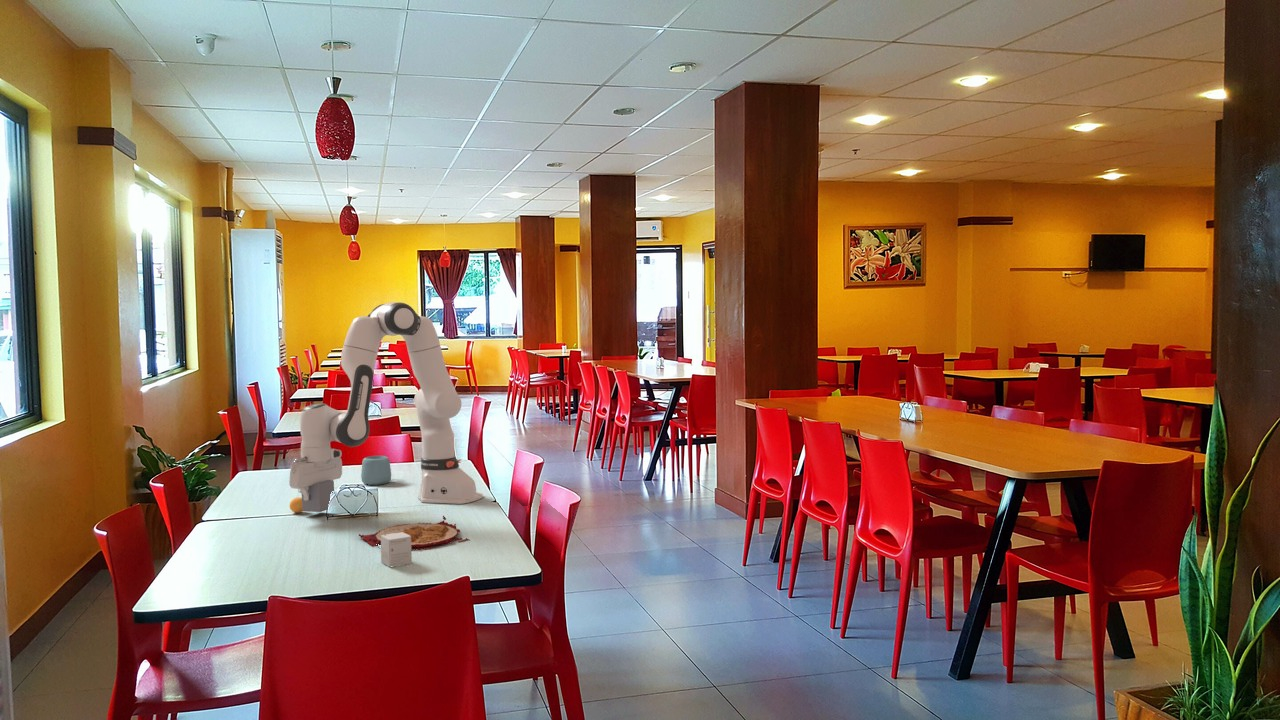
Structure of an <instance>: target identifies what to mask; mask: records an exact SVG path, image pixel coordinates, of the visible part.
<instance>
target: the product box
mask: <svg viewBox="0 0 1280 720" xmlns="http://www.w3.org/2000/svg"><path fill="white" fill-rule="evenodd" d="M411 550H412V549H411V536H410V535H408V534H406V533H403V532H400V533H392V534H387V535H381V548H380V551H381V552H380V563H382V564H383V563H384V564H383V565H385V566H386V565H387V566H386V567H388V566H389V567H388V568H390V567H391V566H396V567H400V566H399V565H402V566H405V564H408V565H411V564H412V563H413V562H412V559H413V557H412V555H413V553H412V551H411ZM391 568H392V567H391Z"/></svg>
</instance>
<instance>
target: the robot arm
mask: <svg viewBox="0 0 1280 720" xmlns="http://www.w3.org/2000/svg"><path fill="white" fill-rule="evenodd" d="M398 335H399V336H401V337H402V338H403V339H404V342H405V343H406V348H407V353H408V357H409V361H410V366H411V369H412V373H413V375H414V377H415V379H416V380H417V383H418V384H419V387H420V389H418V390H417V391H416V393H415V394H414V398H413V403H414V406H415V408H416V412H417V416H418V423H419V428H420V432H421V433H420V434H421V458H420V469H421V481H420V482H421V483H420V489H419V492H418V493H419V494H418V496H417V499H418V500H420V502H421V503H431V504H432V503H433V504H456V505H458V504H459V505H461V504H468V503H472V502H473V503H474V502H476V501H478V500H481V499H482V498H483V497H484V493H480V492H478V491H477V487H476V482H475V479H473V478H472V477H471V476H470V475H468V473H466V472H465V471H464V470H463V469H462V468H460V463H462V459H461V458H460V459H457V457H456V456H455V432H454V431H453V428H452V425H451V420H450V419H452V418H455V417H456V416H457V415H458V414H459V413H460V411H461V409H462V403H463V402H462V398H461V397H460V395H459V394H458V391H456V388H455V386H454V383H453V380H452V378H451V377H450V373H449V371H448V369H447V366H446V363H445V359H444V356H443V351H442V347H441V343H440V339H439V337H438V333H437V330H436V328H435V325H434V324H433V322H432V320H431V319H430V318H429V317H427V316H422V315H421V316H419V314H418V313H417V312H416V311H415V309H414V308H413V307H412V306H410V305H409V304H407V303H405V302H401V301H400V302H395V301H394V302H393V301H392V302H387V303H382V304H379V305H377V306H376V307H375V308H374V309H372V311H371V312H370V313H369V314H368V315H367V316H365V315H361V316H357V317H355V318H354V319H353V320H352V322H351V324H350V326H349V328H348V330H347V332H346V336H345V339H344V343H343V345H342V349H341V350H342V351H341V358H340V365H341V368H342V370H343V371H344V373H345V374H346V375H347V377H348V379H349V380H350V394H349V400H348V405H347V409H346V412H343V411H341V410H338V409H335V408H332V407H331V406H329V405H328V404H326V403H314V404H309V405H307V406H305V407H304V408H303V409H302V410H301V415H300V427H299V428H300V429H299V430H300V436H301V443H300V457H301V458H300V459H297V458H295V459H294V461H292V463H291V465H290V470H289V481H288V482H289V483H288V485H289V487H290V488H291V489H296V490H298V489H300V490H301V492H302V493H301V492H300V493H301V495H302V494H303V497H304V500H306V501H308V500H311V494H309V493H308V491H307V490H309V486H312V485H313V484H316V483H320V482H324V481H328V480H334V481H335V480H339V479H341V477H342V476H343V461H342V458H341V457H342V450H341V449H336V448H332V447H331V442H338V443H341V444H343V445H344V446H346V447H349V448H354V447H360V446H361V445H363V444H364V443H365V442H366V441H367V439H368V438H369V436H370V430H371V429H370V427H371V426H370V423H369V422H370V421H369V410H370V404H371V399H372V398H371V397H372V390H373V383H374V372H375V367H376V363H377V358H378V353H379V349H380V344H381V341H382V340H383V339H384V337H385V336H392V337H394V336H398Z"/></svg>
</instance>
